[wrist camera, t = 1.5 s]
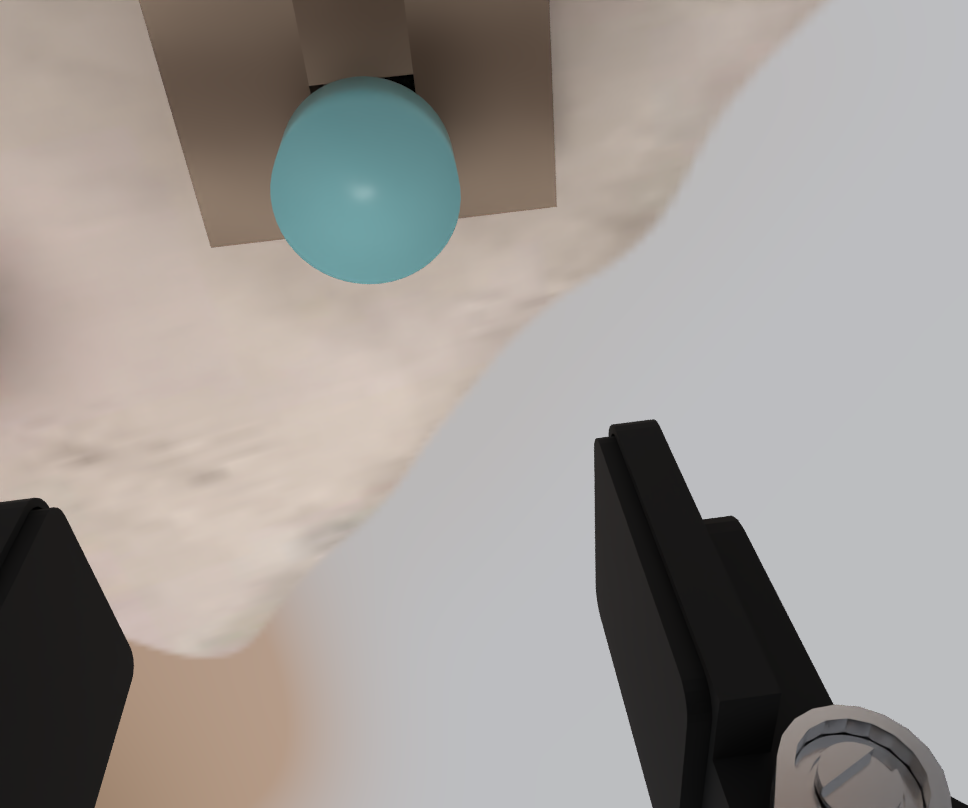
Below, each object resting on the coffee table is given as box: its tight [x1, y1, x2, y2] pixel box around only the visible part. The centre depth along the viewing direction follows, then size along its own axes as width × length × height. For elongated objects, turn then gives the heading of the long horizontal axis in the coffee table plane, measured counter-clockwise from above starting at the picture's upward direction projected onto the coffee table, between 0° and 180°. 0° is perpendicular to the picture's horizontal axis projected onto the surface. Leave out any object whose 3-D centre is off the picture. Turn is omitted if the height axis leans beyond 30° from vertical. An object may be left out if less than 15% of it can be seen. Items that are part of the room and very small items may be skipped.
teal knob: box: [270, 76, 461, 284], centre depth 23 cm, size 5×5×6 cm
